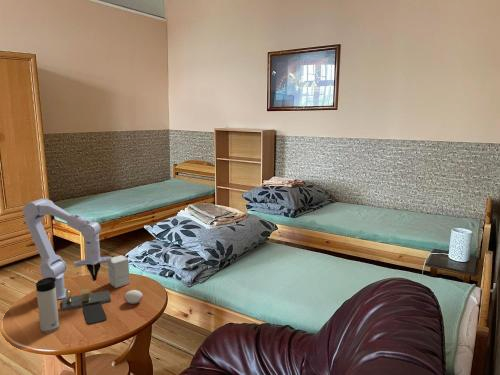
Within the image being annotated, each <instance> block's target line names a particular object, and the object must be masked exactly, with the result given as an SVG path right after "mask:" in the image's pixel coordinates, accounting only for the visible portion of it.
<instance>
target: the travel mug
mask: <svg viewBox="0 0 500 375" xmlns="http://www.w3.org/2000/svg"><path fill="white" fill-rule="evenodd" d="M55 281H56V278H53V277H49V278H44V279H43V278H41V279H40V280H38V281H37V282H36V283H35V288H36V300H37V309H38V317H39V328H40V332H41V333H43V334H50V333H54V332H55V331H57V330H58V329H59V328H60V323H59V322H60V321H59V311H58V310H59V309H58V299H57V298H56V288H55Z"/></svg>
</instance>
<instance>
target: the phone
mask: <svg viewBox="0 0 500 375" xmlns="http://www.w3.org/2000/svg"><path fill="white" fill-rule="evenodd" d="M82 311H83V312H82V313H83V316H84V320H85V321H86V325H88V326H90V325H95V324H98V323H103V322H106V321H107V320H108V319H107V315H106V312H105V311H104V308H103V306H102V303H101V304H95V305H90V306H85V307H82Z"/></svg>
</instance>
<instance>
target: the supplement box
mask: <svg viewBox="0 0 500 375" xmlns="http://www.w3.org/2000/svg"><path fill="white" fill-rule="evenodd" d="M129 266H130V265H129V258H127V257H125V256H124V255H122V254H120V255H117V256H114V257H112V256H111V262H107V272H108V284H110V285H111V286H112V287H113V288H116V289H118V288H119V287H123V286H127V285H129V284H130V283H131V281H130V267H129Z"/></svg>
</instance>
